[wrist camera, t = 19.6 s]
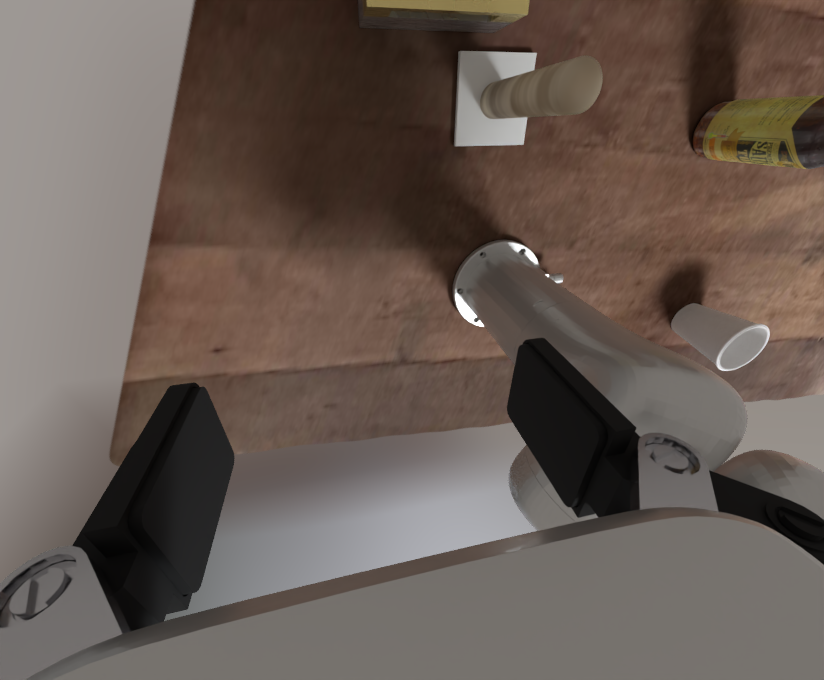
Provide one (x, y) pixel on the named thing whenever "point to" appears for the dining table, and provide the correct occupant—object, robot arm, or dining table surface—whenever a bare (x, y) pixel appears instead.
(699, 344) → the dixie cup
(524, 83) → the beige cylinder rod
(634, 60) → the dining table surface
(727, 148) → the sauce bottle
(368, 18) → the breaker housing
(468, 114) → the pad
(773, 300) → the dining table surface
